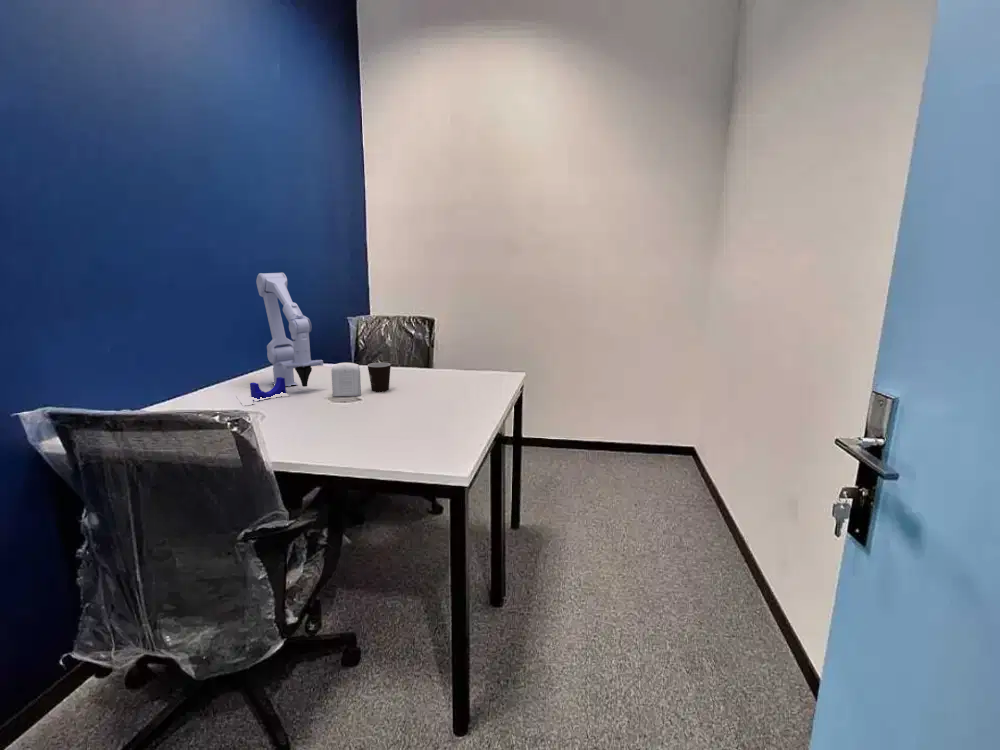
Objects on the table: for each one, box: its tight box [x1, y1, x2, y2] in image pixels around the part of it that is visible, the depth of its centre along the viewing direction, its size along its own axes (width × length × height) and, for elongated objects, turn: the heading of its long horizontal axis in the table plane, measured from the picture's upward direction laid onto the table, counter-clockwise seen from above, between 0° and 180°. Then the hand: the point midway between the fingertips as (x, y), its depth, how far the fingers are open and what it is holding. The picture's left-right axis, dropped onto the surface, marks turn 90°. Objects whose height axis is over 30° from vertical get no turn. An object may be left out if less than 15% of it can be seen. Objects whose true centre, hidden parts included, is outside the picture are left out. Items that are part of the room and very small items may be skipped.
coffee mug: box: [367, 362, 392, 393], centre depth 216 cm, size 12×9×10 cm
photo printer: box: [331, 362, 362, 397], centre depth 207 cm, size 10×4×12 cm, turn 98°
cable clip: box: [249, 377, 287, 399], centre depth 205 cm, size 12×4×6 cm, turn 144°
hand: (304, 386), depth 212 cm, fingers closed
